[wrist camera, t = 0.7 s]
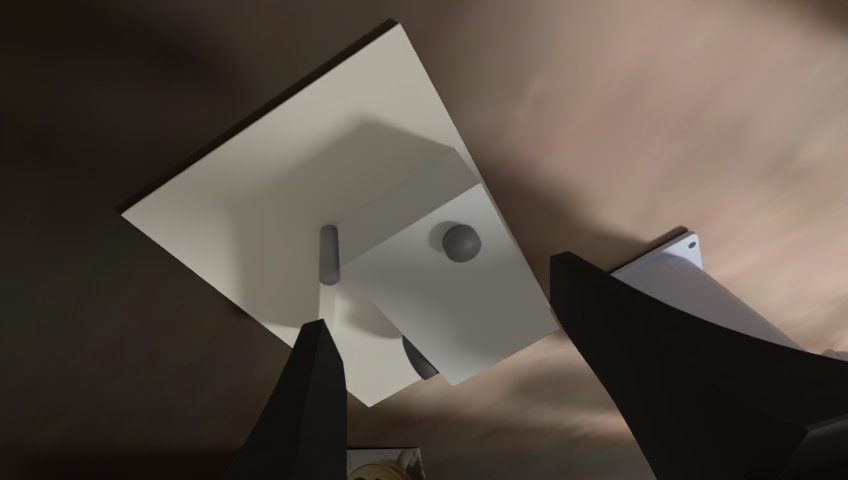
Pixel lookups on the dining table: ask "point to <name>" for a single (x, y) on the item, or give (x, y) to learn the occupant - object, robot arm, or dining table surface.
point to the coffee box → (384, 464)
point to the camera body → (444, 272)
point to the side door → (328, 274)
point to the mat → (311, 202)
